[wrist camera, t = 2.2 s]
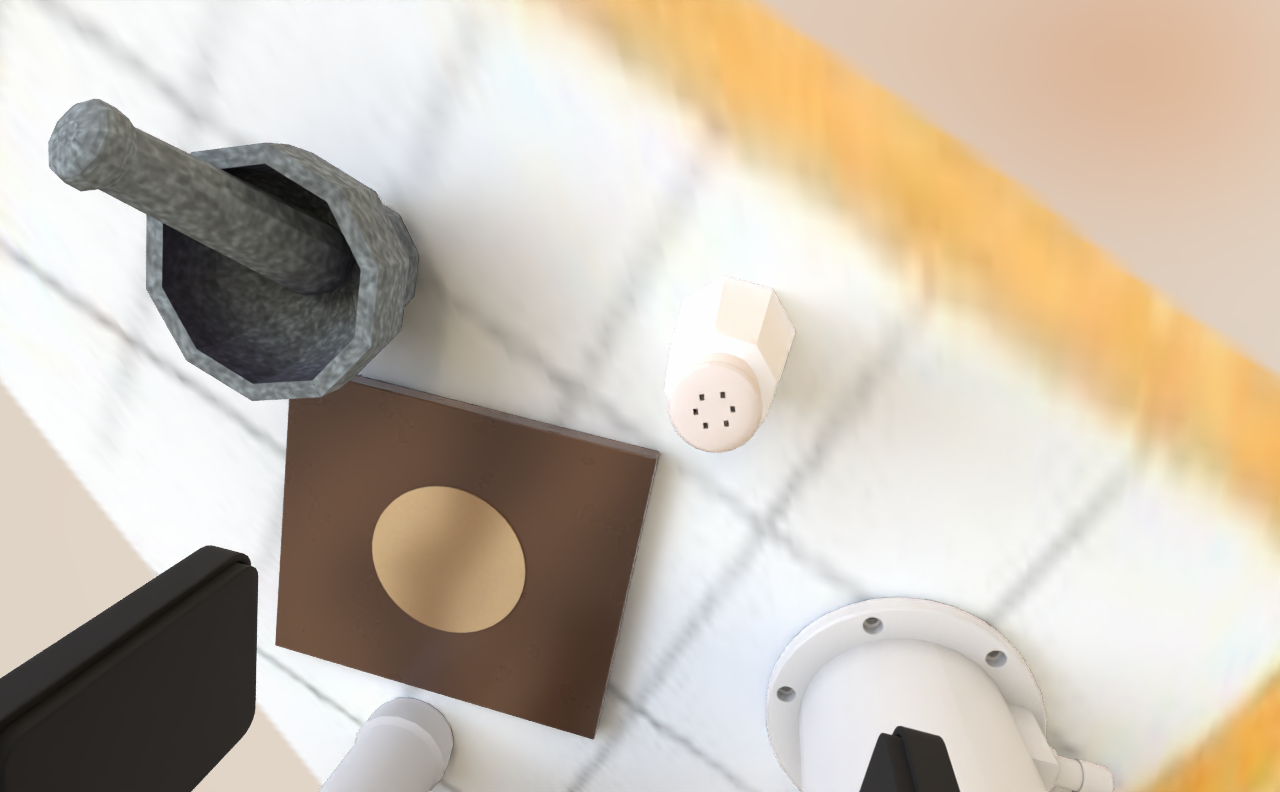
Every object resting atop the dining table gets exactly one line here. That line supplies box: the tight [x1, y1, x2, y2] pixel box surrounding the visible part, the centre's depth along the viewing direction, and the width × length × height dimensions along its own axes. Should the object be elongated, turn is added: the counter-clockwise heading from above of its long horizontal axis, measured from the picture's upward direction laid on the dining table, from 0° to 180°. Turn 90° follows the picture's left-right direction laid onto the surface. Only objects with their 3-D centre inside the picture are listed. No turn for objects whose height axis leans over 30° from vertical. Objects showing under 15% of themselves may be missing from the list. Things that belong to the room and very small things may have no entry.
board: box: [275, 375, 659, 739], centre depth 37 cm, size 18×16×1 cm
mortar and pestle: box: [49, 99, 419, 401], centre depth 28 cm, size 11×9×12 cm
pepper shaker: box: [665, 276, 796, 453], centre depth 27 cm, size 5×5×11 cm
